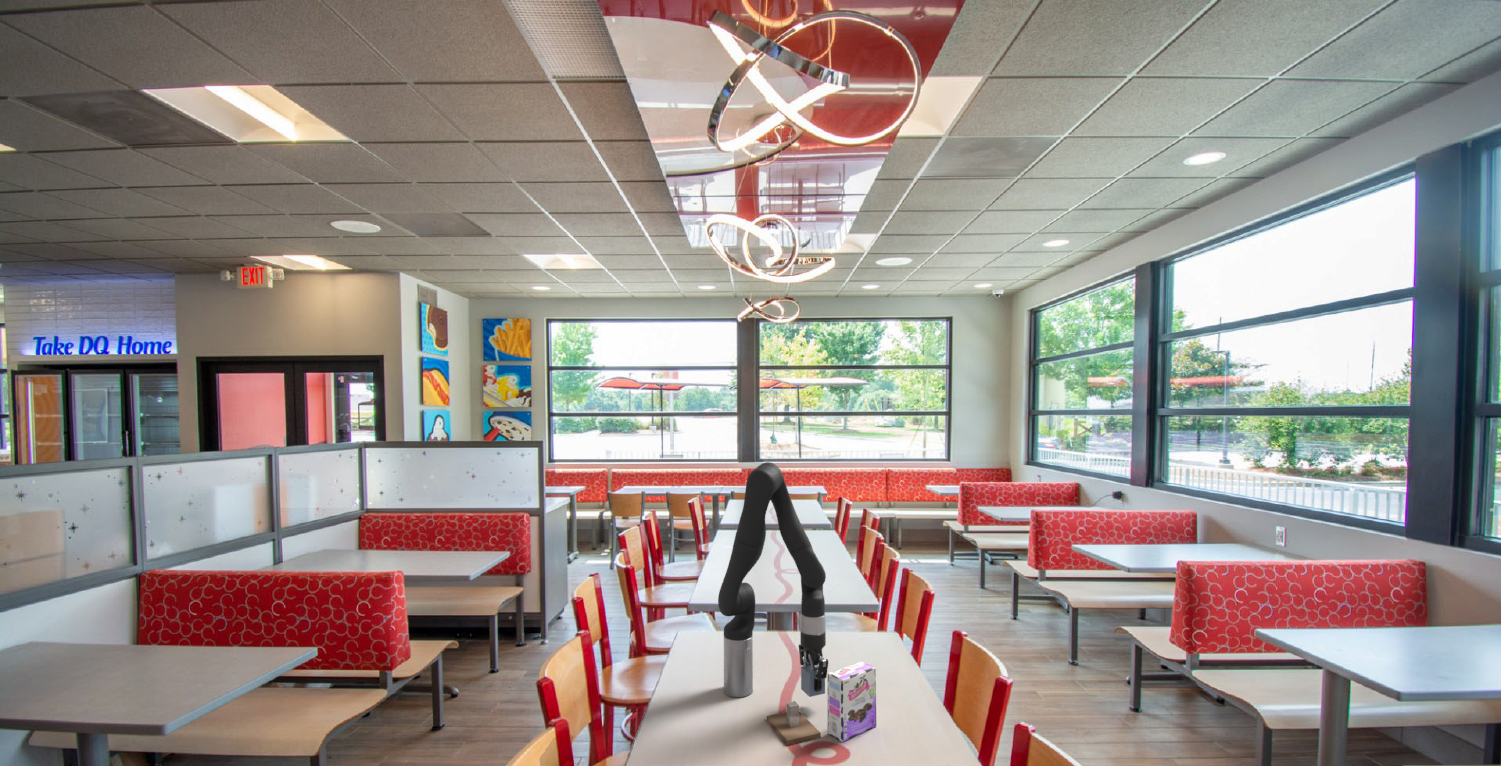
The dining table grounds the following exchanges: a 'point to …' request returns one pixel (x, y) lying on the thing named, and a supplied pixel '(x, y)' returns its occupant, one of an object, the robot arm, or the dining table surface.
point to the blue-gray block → (810, 681)
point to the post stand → (793, 725)
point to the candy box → (851, 701)
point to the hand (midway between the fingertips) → (813, 686)
